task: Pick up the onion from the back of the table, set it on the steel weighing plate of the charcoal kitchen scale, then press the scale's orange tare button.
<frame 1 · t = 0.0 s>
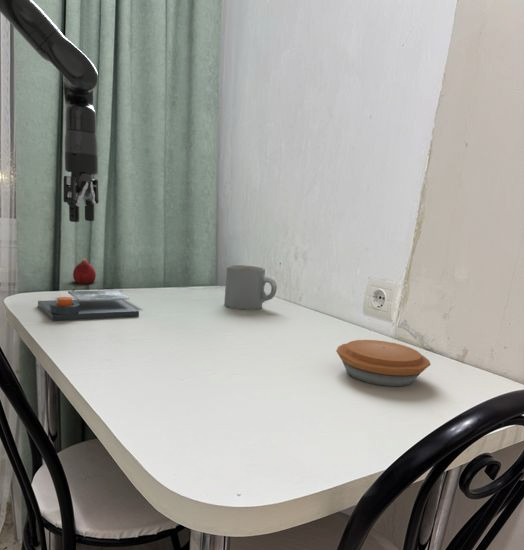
hand: (82, 221, 127), 18 cm above the table, tool pointing down, fingers open, 8 cm apart
scale: (88, 312, 112), on the table
pie: (379, 376, 86), on the table
tare button: (64, 301, 104), point 3 cm above the table, slide at 0.1 cm
weighing plate: (98, 296, 114), resting on scale
onion: (84, 289, 138), on the table
coffee mug: (248, 307, 133), on the table
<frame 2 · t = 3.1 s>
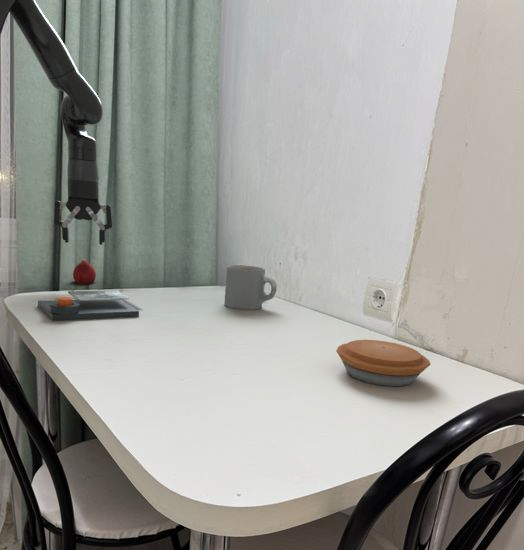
hand: (84, 243, 134), 12 cm above the table, tool pointing down, fingers open, 8 cm apart
nothing on the table moved.
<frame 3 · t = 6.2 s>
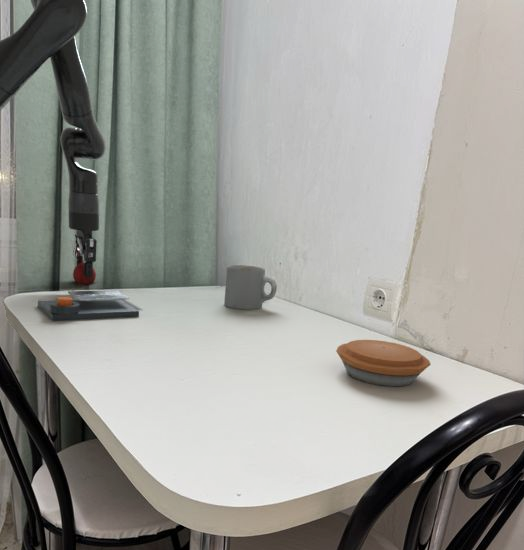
hand: (84, 275, 136), 4 cm above the table, tool pointing down, fingers closed on onion, 6 cm apart
onion: (84, 289, 138), on the table, touching gripper
everything else where it was.
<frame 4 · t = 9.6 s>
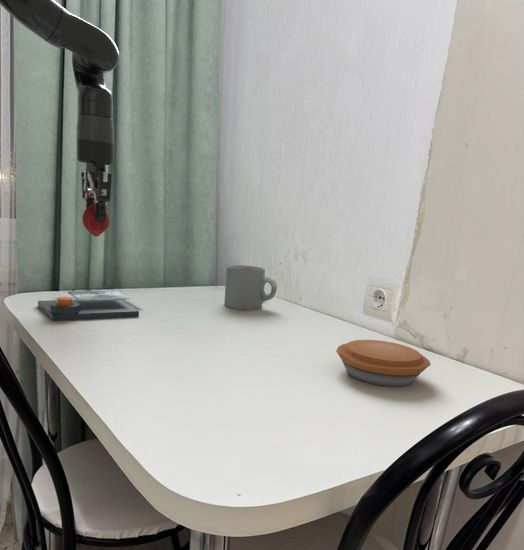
hand: (95, 220, 113), 19 cm above the table, tool pointing down, fingers closed on onion, 6 cm apart
onion: (96, 237, 114), point 16 cm above the table, touching gripper
everything else where it was.
when the fingers open (7 cm above the table, at t = 13.3 s): onion stays where it is, resting on weighing plate.
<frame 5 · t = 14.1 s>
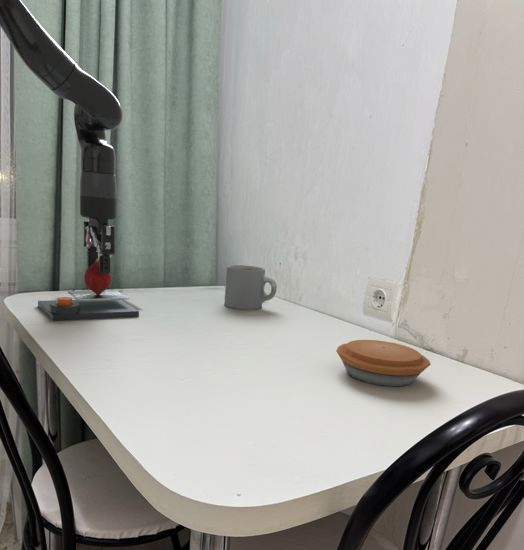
hand: (98, 270, 113), 9 cm above the table, tool pointing down, fingers open, 8 cm apart
onion: (98, 295, 114), point 3 cm above the table, touching weighing plate
everything else where it was.
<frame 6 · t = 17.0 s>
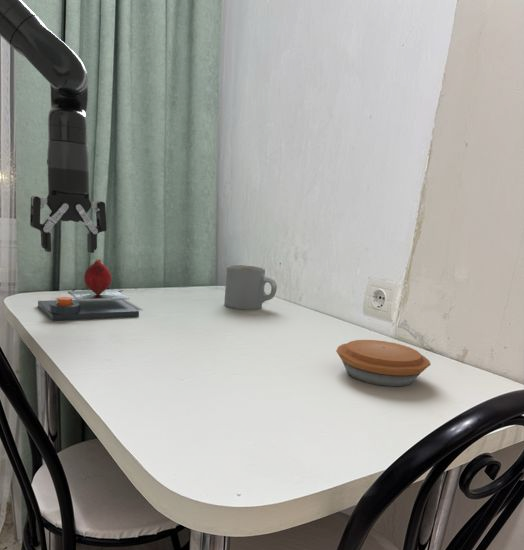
hand: (70, 251, 103), 13 cm above the table, tool pointing down, fingers open, 8 cm apart
nothing on the table moved.
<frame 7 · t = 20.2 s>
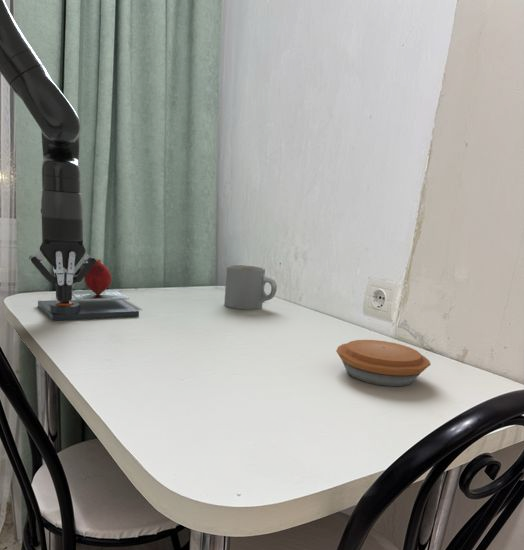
hand: (64, 302, 104), 3 cm above the table, tool pointing down, fingers closed
tare button: (64, 306, 104), point 3 cm above the table, slide at -0.8 cm, touching gripper
everything else where it was.
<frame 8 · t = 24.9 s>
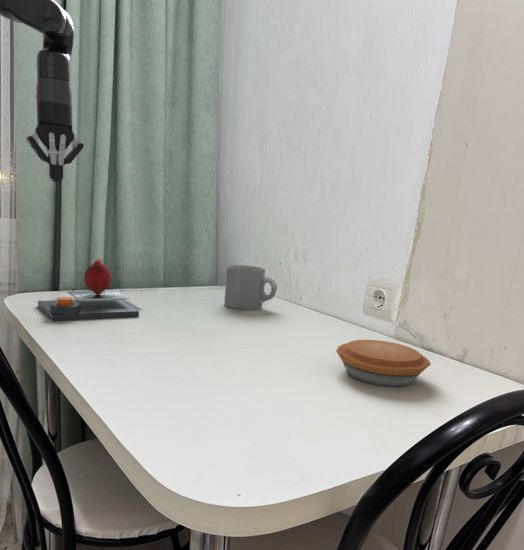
hand: (56, 181, 121), 27 cm above the table, tool pointing down, fingers closed
tare button: (64, 301, 104), point 3 cm above the table, slide at 0.1 cm
everything else where it was.
at the end: onion inside the target area on the scale (0.1 cm from its centre), point 3.2 cm above the scale's base; tare button pushed in 0.9 cm at the most during the clip, back to where it started at the end; tare button slide at 0.1 cm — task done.
